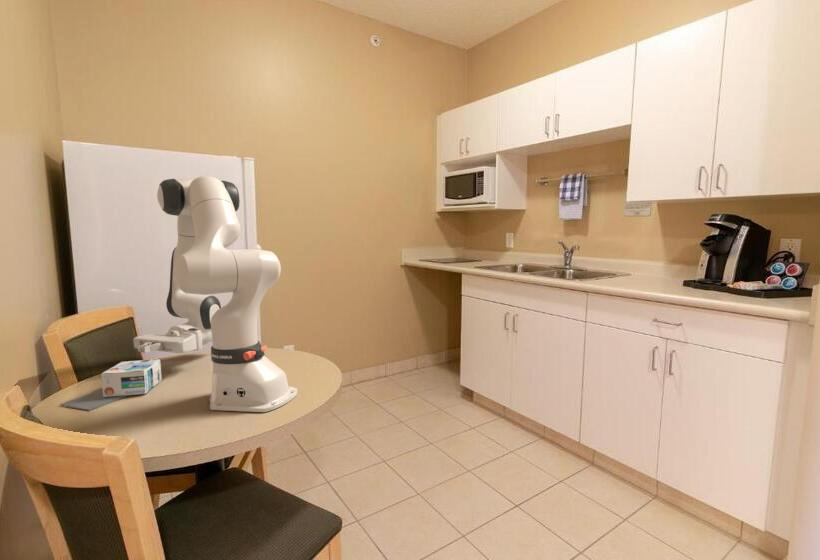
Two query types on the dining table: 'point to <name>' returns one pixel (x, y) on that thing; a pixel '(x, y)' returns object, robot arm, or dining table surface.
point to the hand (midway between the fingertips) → (141, 349)
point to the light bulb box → (131, 378)
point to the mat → (91, 401)
